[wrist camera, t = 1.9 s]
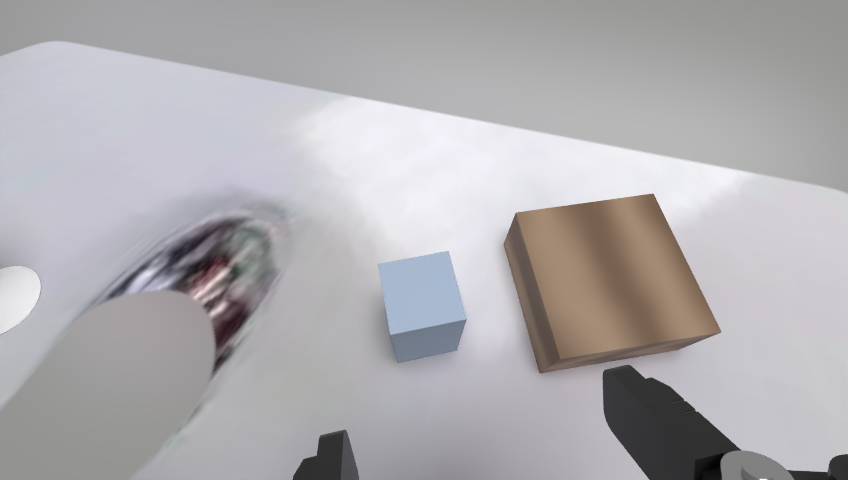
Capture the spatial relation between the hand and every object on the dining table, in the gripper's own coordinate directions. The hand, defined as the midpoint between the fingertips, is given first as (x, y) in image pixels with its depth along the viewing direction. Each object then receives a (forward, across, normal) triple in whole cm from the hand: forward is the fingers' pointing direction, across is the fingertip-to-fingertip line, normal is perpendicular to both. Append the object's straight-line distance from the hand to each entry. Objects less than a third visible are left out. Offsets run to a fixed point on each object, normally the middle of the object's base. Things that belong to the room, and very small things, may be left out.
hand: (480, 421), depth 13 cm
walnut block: (+22, -15, +9) cm, 28 cm away
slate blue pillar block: (+22, 0, +9) cm, 23 cm away
